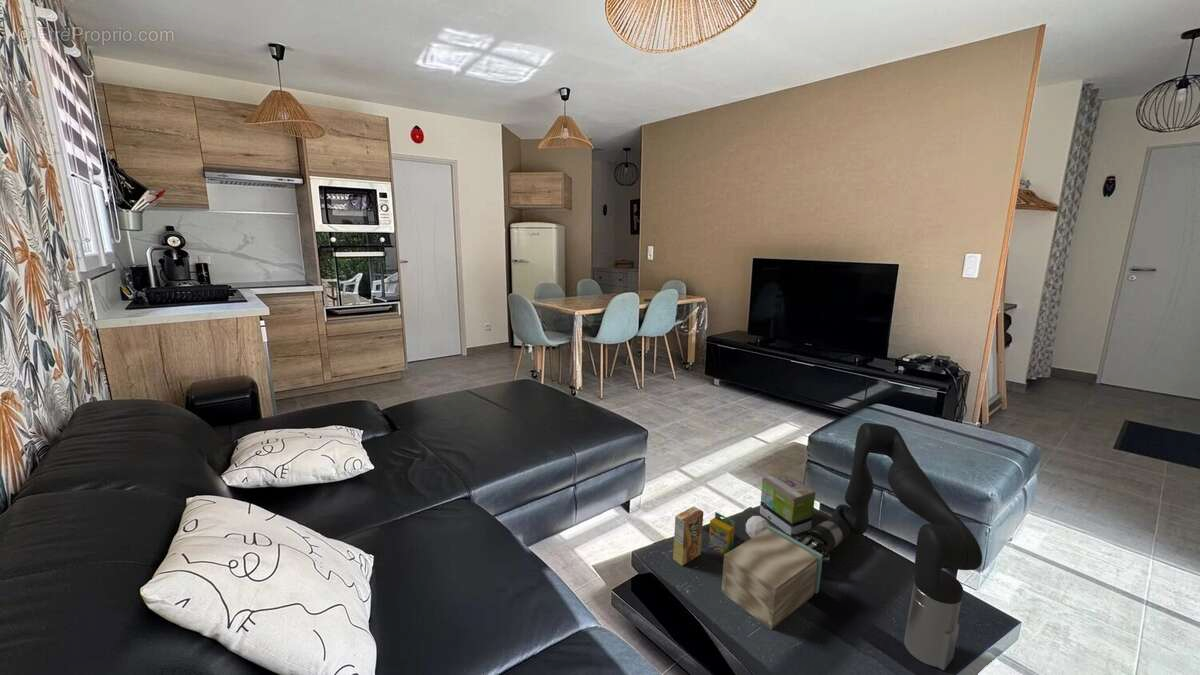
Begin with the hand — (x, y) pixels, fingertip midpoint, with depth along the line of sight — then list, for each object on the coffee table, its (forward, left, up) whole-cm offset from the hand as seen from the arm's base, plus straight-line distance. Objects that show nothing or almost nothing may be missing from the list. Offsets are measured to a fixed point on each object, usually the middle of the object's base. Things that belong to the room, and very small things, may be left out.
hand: (793, 558), depth 138 cm
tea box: (+17, -23, -6) cm, 30 cm away
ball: (+17, -7, -6) cm, 20 cm away
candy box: (+24, +19, -6) cm, 31 cm away
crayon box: (+20, +8, -6) cm, 22 cm away
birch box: (0, +12, -6) cm, 13 cm away
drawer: (0, +10, -5) cm, 11 cm away
